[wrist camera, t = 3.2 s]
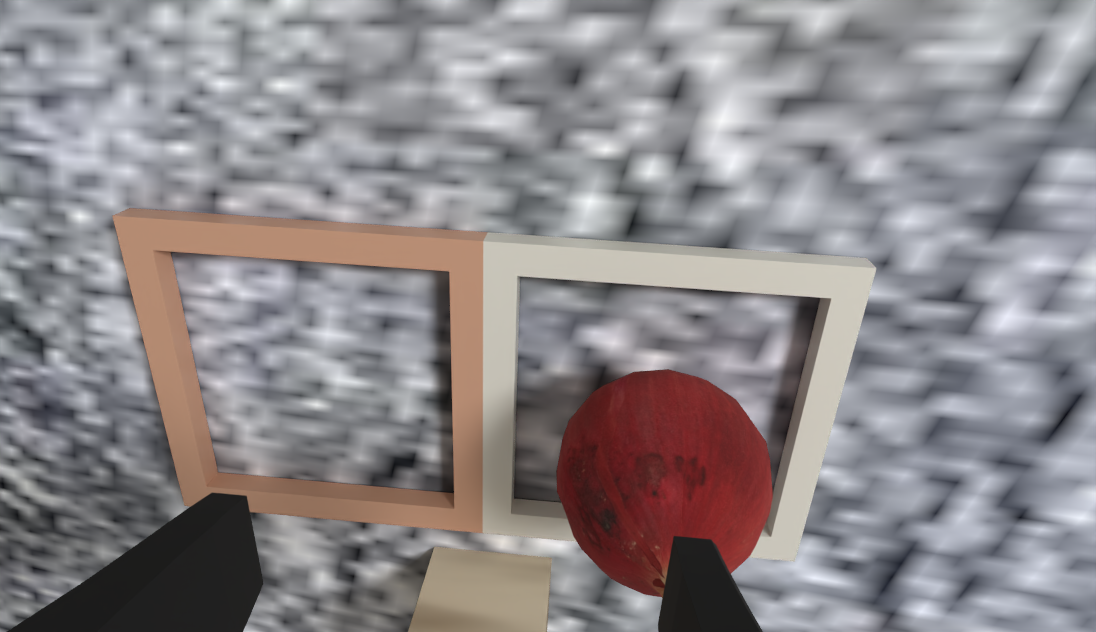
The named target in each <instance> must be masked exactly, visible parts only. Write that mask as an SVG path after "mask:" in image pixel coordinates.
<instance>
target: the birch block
mask: <svg viewBox="0 0 1096 632" xmlns="http://www.w3.org/2000/svg"><path fill="white" fill-rule="evenodd" d="M551 561H552V558H548V557H538V556H527V555H516V554H505V553H495V552H484V551H473V550H462V549H452V548H441V547H434V550H433V553H432V556H431V559H430V563H429V566H428V569H427V572H426V576H425V579H424V582H423V585H422V588H421V592H420V595H419V598H418V601H417V605H416V608H415V611H414V614H413V617H412V621H411V624H410V627H409V630H408V632H547V623H548V607H549V592H550V576H551Z"/></svg>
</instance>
